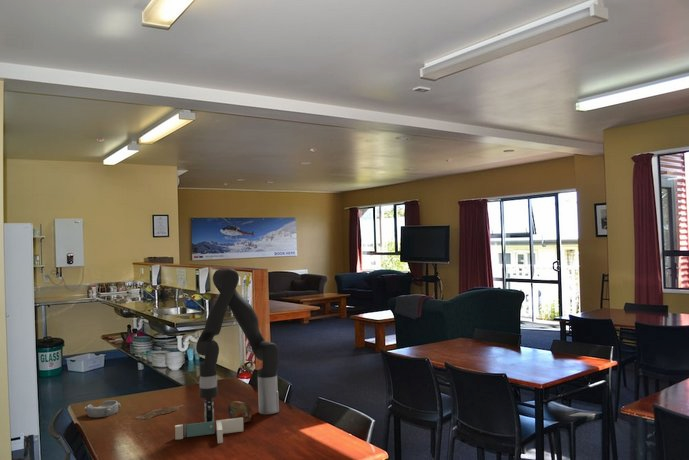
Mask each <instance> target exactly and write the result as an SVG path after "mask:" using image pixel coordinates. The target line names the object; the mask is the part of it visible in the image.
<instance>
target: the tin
mask: <svg viewBox="0 0 689 460" xmlns="http://www.w3.org/2000/svg"><path fill="white" fill-rule="evenodd" d="M227 409H228V410H227V411H228V416H229V417H230V418H229V419H232V418H241V417H243V424H245V423H247V422H250V421H251V420H252V415H253V412H252V411H253V410H252V408H251V405H250V404H249V403H246V402H242V401H239V400H235V401H231V402H230V403H229V405H228V408H227Z"/></svg>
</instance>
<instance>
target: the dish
mask: <svg viewBox="0 0 689 460" xmlns="http://www.w3.org/2000/svg"><path fill="white" fill-rule="evenodd" d="M121 406H122V405H121V403H120V402H118V401H117V400H114V399H113V400H112V399H111V400H110V399H109V400H104V401H103V402H102V404H101V405H99V406H94V405H92V404H88V405H87V406H85V407H84V411H85V412H86V415H87V416H88V417H89V418H103V417H104V418H105V417H109V416H113V415H115V414H116V413H117V414H118V412H119V410H120V408H121Z"/></svg>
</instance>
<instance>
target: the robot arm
mask: <svg viewBox="0 0 689 460" xmlns="http://www.w3.org/2000/svg"><path fill="white" fill-rule="evenodd" d="M239 280H240V277H239V273H238V272H237V270H235V269H233V268H220V269H217V270H215V271H214V272H213V275H212V281H213V282H212V283H213V284H214V285H213V286H215V288H216V290H217V291H218V293H219V295H218V297H217V299H216V301H215V302H214V304H213V306H212V307H211V309H210V310H209V313H208V314H207V319H206V322H205V324H204V325H205V326H204V329H203V330H202V332H201V334H200V335H199V337H198V339H197V342H196V346H195V350H196V352H197V354H199V356H204V361H202V362H200V364H199V380H198V381H199V397H200V398H201V399H204V400H203V406H204V410H205V413H206V418H207V422H210V421H212V417H213V416H212V412H213V409H214V404H215V403H214V402H215V401H214V399H213V398H216V397H217V396H218V378H217V363H218V358H219V355H220V354H219V353H220V347H219V343H218V342H217V341H215V340H213V339H214V338H215V336H218V335H219V334H220V333H221V331H222V326H223V323H224V319H225V316H226V312H227V309H228V308H229V309H230V311H231V312H232V315H233V316H234V318H235V320H236V322H237V324H238V325H239V327H240V328H241V331H242V332H243V334H244V336H245V338H246V339H247V341H248V343H249V346H250V348H251V350H252V353H253V355H254V357H255V358H256V359H257V360H259V361H262V366H261V368H259V369H258V370H257V391H258V393H257V394H258V398H257V399H258V400H257V401H258V413H259V414H260V415H273V414H277V413H279V412H280V407H279V405H280V403H279V401H280V399H279V391H278V389H279V388H278V371H279V366H280V365H279V360H280V358H279V357H280V354H279V353H280V352H279V347H278V345H277V344H276V343H274V342H272V341H271V342H270V341H266V340H265V338H264V337H263V335H262V333H261V331H260V326H259V318H258V315H257V313H256V312H255V310H254V307H252V305H251V304H250V303H249V301H248V300H246V299H245V298H244V297H243V296H242V295H241V294H240V293H239V292H238V290H237V289H236V288H237V286H238V284H239ZM210 413H211V415H208V414H210Z"/></svg>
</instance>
